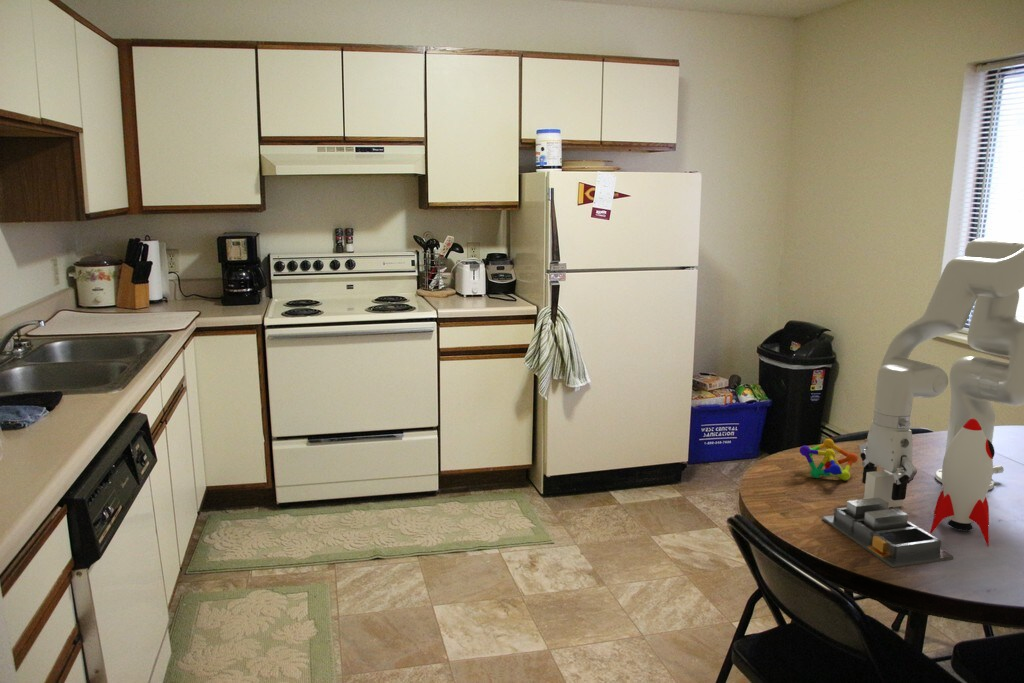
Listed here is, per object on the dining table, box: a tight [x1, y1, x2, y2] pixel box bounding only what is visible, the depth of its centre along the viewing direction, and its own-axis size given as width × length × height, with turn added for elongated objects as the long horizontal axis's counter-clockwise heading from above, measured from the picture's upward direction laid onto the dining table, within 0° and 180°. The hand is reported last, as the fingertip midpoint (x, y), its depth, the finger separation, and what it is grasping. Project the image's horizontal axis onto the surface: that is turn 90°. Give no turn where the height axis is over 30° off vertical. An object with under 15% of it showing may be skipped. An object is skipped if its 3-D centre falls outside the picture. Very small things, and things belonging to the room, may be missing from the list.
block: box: [863, 469, 904, 508], centre depth 173 cm, size 8×3×8 cm, turn 103°
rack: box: [821, 497, 954, 569], centre depth 158 cm, size 14×22×6 cm, turn 13°
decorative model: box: [799, 438, 859, 481], centre depth 192 cm, size 13×9×15 cm
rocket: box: [929, 419, 995, 547], centre depth 159 cm, size 11×11×25 cm
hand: (882, 491), depth 173 cm, fingers open, 9 cm apart
